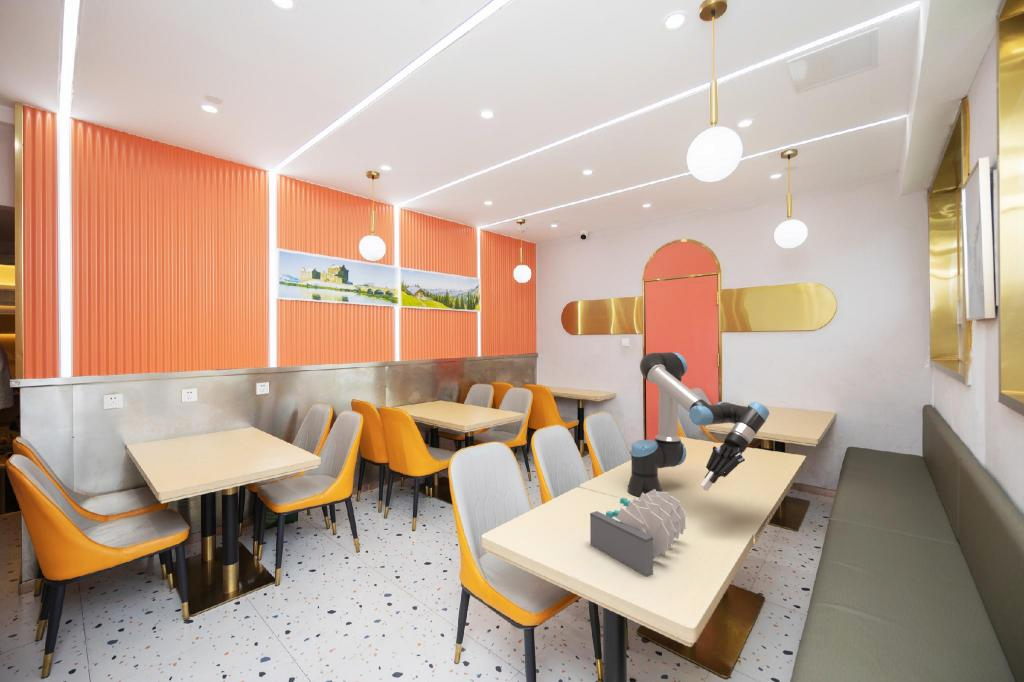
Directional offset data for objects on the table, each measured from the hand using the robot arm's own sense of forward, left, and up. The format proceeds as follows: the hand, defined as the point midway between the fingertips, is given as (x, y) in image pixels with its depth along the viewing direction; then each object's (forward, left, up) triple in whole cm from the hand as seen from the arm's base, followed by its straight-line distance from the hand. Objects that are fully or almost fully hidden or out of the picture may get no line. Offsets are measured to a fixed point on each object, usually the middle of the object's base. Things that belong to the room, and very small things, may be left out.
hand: (703, 488), depth 155 cm
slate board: (-4, -38, -17) cm, 42 cm away
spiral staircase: (-3, -23, -17) cm, 29 cm away
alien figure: (-26, -5, -17) cm, 32 cm away
